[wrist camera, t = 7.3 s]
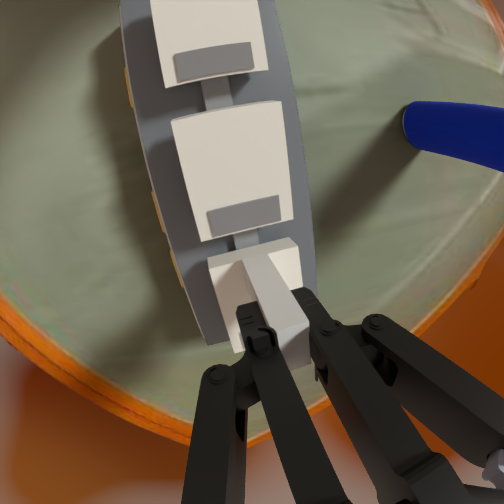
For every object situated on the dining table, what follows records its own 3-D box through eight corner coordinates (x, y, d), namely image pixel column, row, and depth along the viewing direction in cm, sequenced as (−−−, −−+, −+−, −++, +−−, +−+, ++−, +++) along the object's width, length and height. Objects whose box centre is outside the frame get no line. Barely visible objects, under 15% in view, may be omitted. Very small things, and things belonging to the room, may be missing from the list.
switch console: (125, 19, 13) (111, -4, 9) (254, -4, 14) (268, -30, 10) (200, 318, 26) (203, 351, 22) (302, 290, 27) (321, 318, 23)
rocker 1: (151, -6, 9) (147, -19, 7) (242, -20, 10) (251, -33, 8) (167, 88, 14) (165, 88, 12) (257, 71, 14) (269, 69, 12)
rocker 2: (172, 118, 14) (170, 122, 12) (268, 100, 14) (282, 101, 12) (198, 224, 17) (201, 243, 16) (281, 204, 18) (294, 220, 16)
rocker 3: (206, 254, 18) (208, 270, 16) (286, 234, 19) (298, 246, 17) (230, 334, 21) (234, 354, 19) (297, 315, 22) (308, 333, 19)
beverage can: (432, 147, 23) (548, 183, 10) (401, 150, 23) (533, 190, 9) (428, 102, 21) (549, 119, 8) (396, 100, 20) (533, 112, 7)
